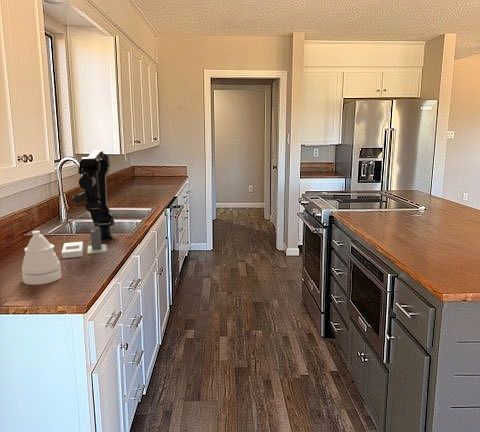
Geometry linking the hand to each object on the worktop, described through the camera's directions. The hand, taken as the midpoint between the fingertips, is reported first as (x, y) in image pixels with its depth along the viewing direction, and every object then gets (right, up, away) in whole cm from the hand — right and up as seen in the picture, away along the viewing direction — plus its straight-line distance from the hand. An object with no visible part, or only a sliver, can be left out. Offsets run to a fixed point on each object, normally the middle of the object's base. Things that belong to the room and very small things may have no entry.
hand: (94, 220), depth 196 cm
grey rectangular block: (0, -12, +1) cm, 12 cm away
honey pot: (-8, -21, -35) cm, 41 cm away
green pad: (+1, -13, +1) cm, 13 cm away
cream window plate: (-9, -14, -3) cm, 16 cm away
